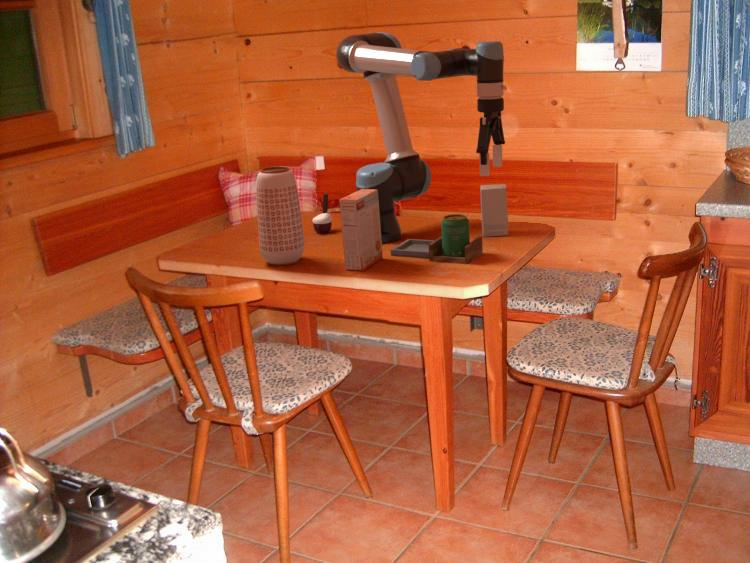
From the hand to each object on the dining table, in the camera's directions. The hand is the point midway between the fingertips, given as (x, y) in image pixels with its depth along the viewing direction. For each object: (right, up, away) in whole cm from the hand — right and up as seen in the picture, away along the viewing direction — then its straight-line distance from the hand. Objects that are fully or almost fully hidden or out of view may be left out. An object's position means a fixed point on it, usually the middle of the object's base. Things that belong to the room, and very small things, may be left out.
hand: (491, 171), depth 252 cm
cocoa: (-51, -16, +38) cm, 66 cm away
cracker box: (-37, -27, -2) cm, 46 cm away
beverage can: (-10, -25, 0) cm, 27 cm away
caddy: (-10, -25, 0) cm, 27 cm away
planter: (-61, -27, +6) cm, 67 cm away
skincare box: (+4, -17, +22) cm, 28 cm away
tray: (-21, -23, +8) cm, 32 cm away
